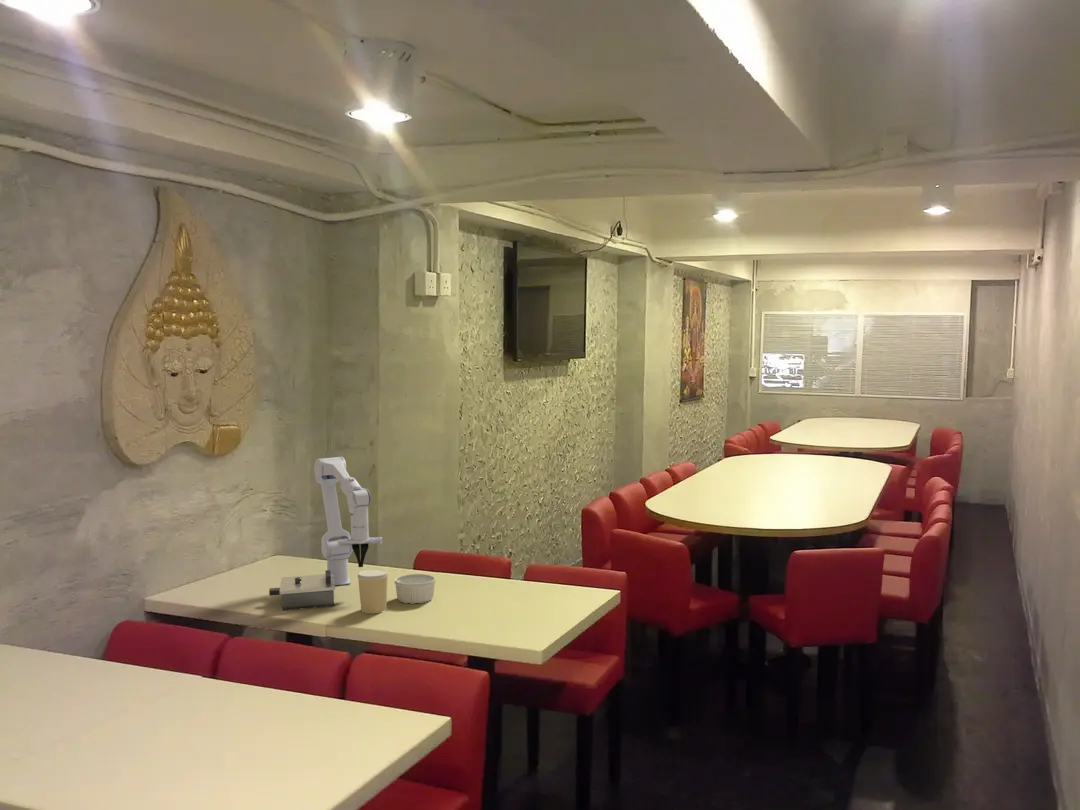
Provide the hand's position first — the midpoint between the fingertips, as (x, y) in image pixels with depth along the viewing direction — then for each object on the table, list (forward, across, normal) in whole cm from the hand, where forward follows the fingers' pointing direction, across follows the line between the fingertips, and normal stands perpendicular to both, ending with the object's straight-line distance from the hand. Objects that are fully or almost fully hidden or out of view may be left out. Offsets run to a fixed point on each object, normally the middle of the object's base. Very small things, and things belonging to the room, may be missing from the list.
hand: (360, 566), depth 290 cm
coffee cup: (+10, +3, -18) cm, 20 cm away
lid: (+4, -17, -2) cm, 18 cm away
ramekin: (+10, +17, -10) cm, 22 cm away
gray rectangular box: (+10, -19, -2) cm, 22 cm away
